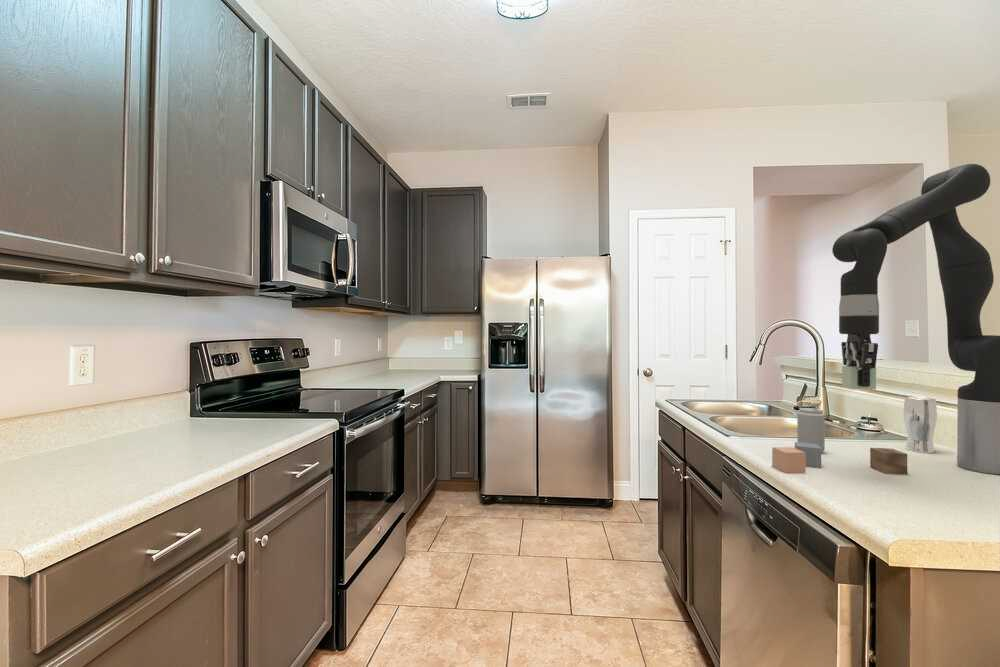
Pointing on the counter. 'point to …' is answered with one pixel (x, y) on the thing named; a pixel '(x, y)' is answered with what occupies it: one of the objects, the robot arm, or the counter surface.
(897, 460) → the walnut cube
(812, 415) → the beverage can
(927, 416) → the beer glass
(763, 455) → the counter surface
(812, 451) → the slate cube
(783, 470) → the terracotta cube
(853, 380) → the sage cube
